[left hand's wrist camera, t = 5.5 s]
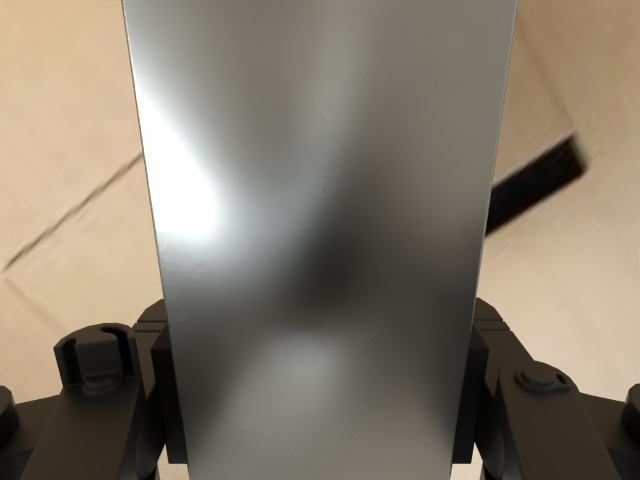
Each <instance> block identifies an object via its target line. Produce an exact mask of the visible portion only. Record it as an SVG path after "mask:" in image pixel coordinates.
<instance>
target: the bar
mask: <svg viewBox="0 0 640 480" xmlns="http://www.w3.org/2000/svg"><path fill="white" fill-rule="evenodd" d="M121 2H122V9H123V16H124V23H125V30H126V37H127V44H128V51H129V58H130V65H131V72H132V79H133V86H134V93H135V100H136V107H137V114H138V121H139V128H140V135H141V142H142V149H143V156H144V163H145V171H146V178H147V185H148V192H149V199H150V206H151V213H152V220H153V227H154V234H155V241H156V248H157V255H158V262H159V269H160V276H161V283H162V290H163V297H164V304H165V311H166V318H167V325H168V332H169V339H170V346H171V353H172V360H173V367H174V374H175V381H176V388H177V396H178V403H179V410H180V417H181V424H182V431H183V438H184V445H185V452H186V459H187V466H188V473H189V480H450V477H451V470H452V463H453V456H454V449H455V441H456V434H457V427H458V420H459V413H460V406H461V399H462V392H463V385H464V378H465V371H466V364H467V357H468V350H469V343H470V336H471V329H472V322H473V315H474V308H475V301H476V293H477V286H478V279H479V272H480V265H481V258H482V251H483V244H484V237H485V230H486V223H487V216H488V209H489V202H490V195H491V188H492V181H493V174H494V167H495V160H496V153H497V146H498V138H499V131H500V124H501V117H502V110H503V103H504V96H505V89H506V82H507V75H508V68H509V61H510V54H511V47H512V40H513V33H514V26H515V19H516V12H517V5H518V0H121Z"/></svg>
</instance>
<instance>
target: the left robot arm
mask: <svg viewBox="0 0 640 480" xmlns="http://www.w3.org/2000/svg"><path fill="white" fill-rule="evenodd" d="M53 349H54V353H55V357H56V361H57V365H58V368H59V372H60V376H61V380H62V384H63V389H62V391H61V393H60V394H59V395H56V396H52V397H48V398H43V399H38V400H33V401H28V402H24V403H19V404H15V402H14V399H13V396H12V392H11V391H10V390H9V389H8V388H6V387H5V386H0V480H160V476H159V469H158V464H157V462H158V459H159V457H160V455H161V452H162V450H163V448H164V445H165V444H166V450H167V456H168V462H169V464H187V459H186V452H185V445H184V438H183V431H182V424H181V417H180V410H179V403H178V396H177V388H176V381H175V374H174V367H173V360H172V353H171V346H170V339H169V332H168V325H167V318H166V311H165V304H164V299H161V300H159V301H157V302H156V303H154V304H153V305H151V306H150V307H148V308H147V309H145V311H144V312H143V313H142V315H141V316H140V317H139V319H138V320H137V323H135V324H134V325H133V327H132V328H130V327H129V326H128V325H124V324H120V323H102V324H97V325H92V326H88V327H85V328H82V329H80V330H77V331H74V332H72V333H71V334H69V335H67V336H66V337H64V338H62V339H61V340H60V341H59V342H58V343H57V344H56V345H55V346H54V347H53ZM474 442H475V444H476V446H477V448H478V451H479V453H480V456H481V458H482V460H483V464H482V469H481V475H480V480H640V383H639V384H635V385H634V386H633V387H631V388H630V389H629V391H628V394H627V398H626V401H625V402H621V401H616V400H611V399H606V398H602V397H597V396H592V395H588V394H584V393H580V392H579V390H578V388H577V386H576V385H575V383H574V382H573V381H572V380H571V378H570V377H569V376H567V375H566V374H564V373H563V372H562V371H560V370H559V369H557V368H555V367H552V366H550V365H548V364H546V363H543V362H538V361H534V360H533V358H532V357H531V356H530V354H529V353H528V352H527V350H526V349H525V348H524V346H523V345H522V344H521V342H520V341H519V340H518V339H517V337H516V336H515V335H514V333H513V332H512V331H510V328H509V327H508V325H507V324H506V323H505V321H503V319H502V317H501V316H500V315H499V313H498V312H497V311H496V309H495V308H494V307H493V306H491V305H489V304H488V303H486V302H485V301H483V300H482V299H480V298H476V301H475V308H474V315H473V322H472V329H471V336H470V343H469V350H468V357H467V364H466V371H465V378H464V385H463V392H462V399H461V406H460V413H459V420H458V427H457V434H456V441H455V449H454V456H453V463H452V464H471V460H472V454H473V448H474Z"/></svg>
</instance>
